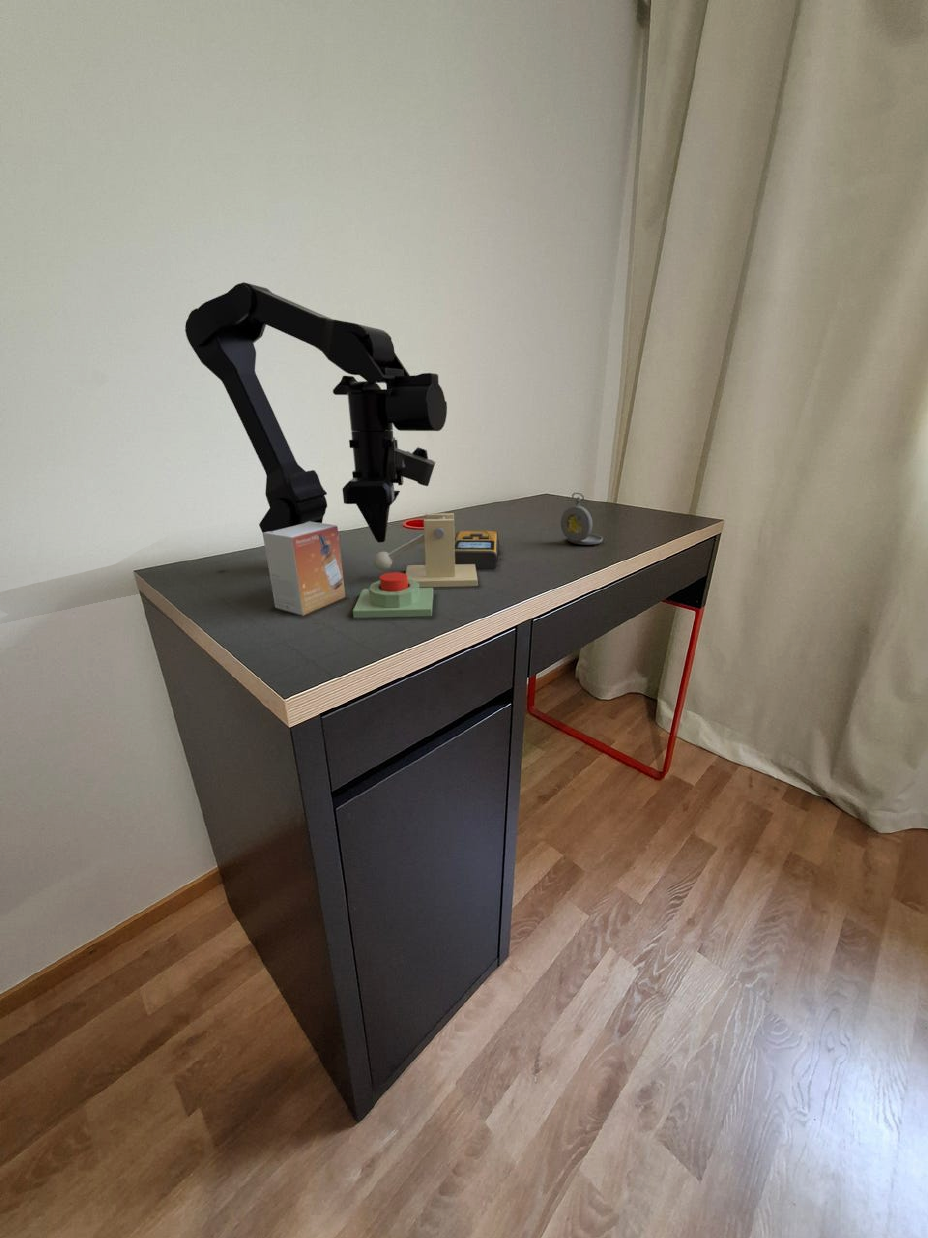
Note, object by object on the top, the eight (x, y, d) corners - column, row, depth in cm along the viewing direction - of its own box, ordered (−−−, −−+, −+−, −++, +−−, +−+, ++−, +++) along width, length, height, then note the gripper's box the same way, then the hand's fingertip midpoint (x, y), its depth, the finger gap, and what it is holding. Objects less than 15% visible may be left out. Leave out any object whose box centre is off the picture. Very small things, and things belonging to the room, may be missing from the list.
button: (379, 593, 63) (378, 581, 63) (382, 584, 67) (381, 572, 66) (407, 593, 63) (406, 580, 63) (409, 584, 67) (408, 571, 66)
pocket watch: (601, 538, 98) (607, 487, 94) (602, 549, 91) (608, 495, 87) (560, 537, 100) (563, 486, 96) (558, 547, 92) (561, 493, 88)
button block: (353, 619, 62) (351, 597, 61) (363, 597, 70) (361, 577, 68) (431, 617, 63) (430, 595, 61) (433, 595, 70) (432, 575, 69)
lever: (379, 575, 74) (369, 560, 73) (381, 569, 77) (371, 554, 76) (452, 534, 72) (442, 518, 71) (452, 530, 75) (443, 514, 74)
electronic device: (499, 546, 94) (499, 529, 93) (498, 571, 80) (499, 550, 79) (455, 546, 95) (455, 528, 94) (447, 570, 81) (447, 550, 79)
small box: (302, 617, 63) (290, 537, 59) (274, 609, 66) (260, 532, 62) (347, 598, 69) (338, 524, 65) (319, 591, 72) (309, 520, 68)
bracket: (403, 588, 72) (399, 523, 69) (407, 572, 80) (404, 512, 76) (477, 587, 73) (477, 522, 69) (474, 570, 80) (474, 510, 76)
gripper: (428, 433, 59) (433, 558, 65) (432, 427, 76) (436, 526, 82) (335, 434, 59) (349, 559, 65) (360, 428, 76) (369, 528, 82)
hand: (381, 541), depth 74 cm, fingers closed
